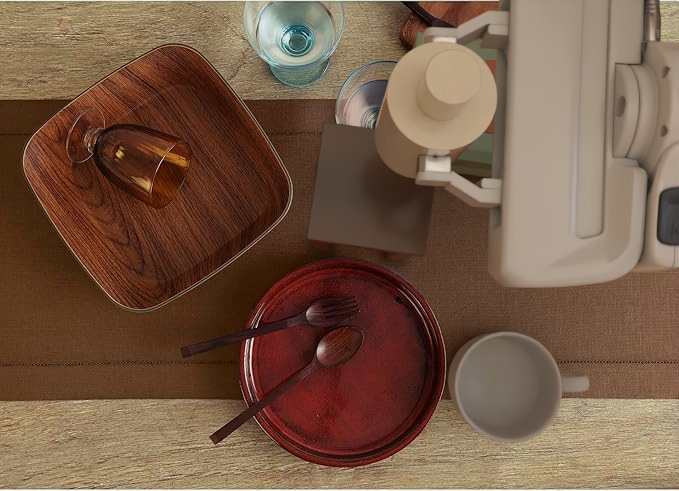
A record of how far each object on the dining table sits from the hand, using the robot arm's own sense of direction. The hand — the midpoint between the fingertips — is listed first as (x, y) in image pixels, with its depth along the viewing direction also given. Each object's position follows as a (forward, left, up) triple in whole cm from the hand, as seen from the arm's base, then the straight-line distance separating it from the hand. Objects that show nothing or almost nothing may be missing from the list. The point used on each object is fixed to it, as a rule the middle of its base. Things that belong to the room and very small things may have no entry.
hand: (419, 107), depth 35 cm
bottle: (0, +1, -7) cm, 7 cm away
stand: (+2, -1, -34) cm, 34 cm away
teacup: (+18, +17, -34) cm, 42 cm away
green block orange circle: (-11, +11, -34) cm, 37 cm away
